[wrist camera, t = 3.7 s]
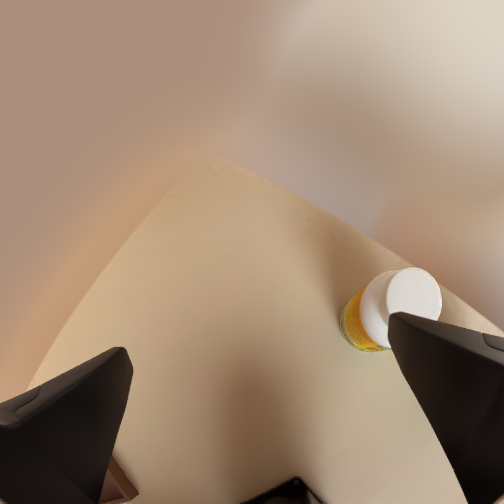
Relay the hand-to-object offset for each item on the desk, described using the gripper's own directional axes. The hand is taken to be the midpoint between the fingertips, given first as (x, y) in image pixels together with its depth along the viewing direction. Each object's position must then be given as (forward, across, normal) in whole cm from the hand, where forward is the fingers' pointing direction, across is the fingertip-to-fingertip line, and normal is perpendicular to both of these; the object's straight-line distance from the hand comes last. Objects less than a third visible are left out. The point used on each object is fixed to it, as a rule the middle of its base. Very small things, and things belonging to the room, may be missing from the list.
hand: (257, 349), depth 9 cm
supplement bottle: (+13, -9, +8) cm, 18 cm away
